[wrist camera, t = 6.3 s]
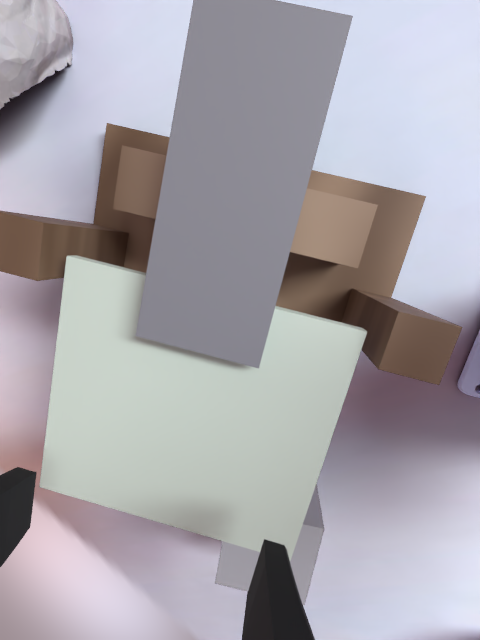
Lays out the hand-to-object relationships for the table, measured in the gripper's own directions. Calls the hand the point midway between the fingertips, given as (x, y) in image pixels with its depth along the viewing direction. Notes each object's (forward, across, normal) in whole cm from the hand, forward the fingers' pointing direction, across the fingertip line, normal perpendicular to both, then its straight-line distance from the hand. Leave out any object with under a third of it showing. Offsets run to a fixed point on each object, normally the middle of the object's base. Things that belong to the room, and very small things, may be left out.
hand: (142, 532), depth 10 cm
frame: (+10, 0, -10) cm, 14 cm away
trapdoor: (+5, 0, -6) cm, 8 cm away
